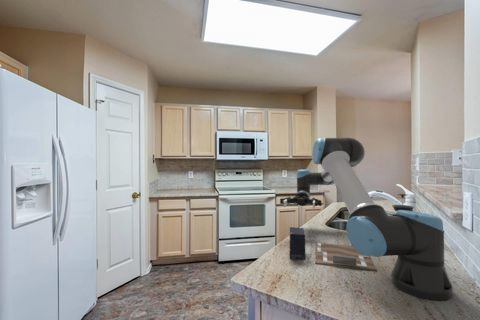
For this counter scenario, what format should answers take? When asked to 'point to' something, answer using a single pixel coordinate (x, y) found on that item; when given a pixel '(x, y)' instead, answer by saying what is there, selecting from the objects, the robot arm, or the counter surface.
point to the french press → (402, 206)
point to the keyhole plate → (342, 257)
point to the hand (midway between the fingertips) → (298, 204)
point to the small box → (297, 243)
